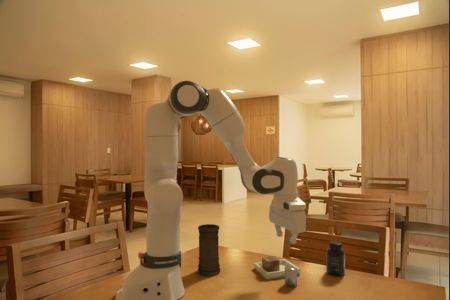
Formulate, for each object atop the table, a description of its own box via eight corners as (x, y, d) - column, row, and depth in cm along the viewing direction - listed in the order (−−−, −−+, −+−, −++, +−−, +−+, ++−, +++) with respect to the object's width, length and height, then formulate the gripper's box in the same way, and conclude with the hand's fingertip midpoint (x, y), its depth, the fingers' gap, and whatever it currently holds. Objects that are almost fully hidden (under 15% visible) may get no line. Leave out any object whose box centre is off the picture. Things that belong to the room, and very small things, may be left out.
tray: (267, 279, 124) (267, 273, 124) (253, 268, 135) (253, 262, 135) (300, 275, 129) (300, 268, 129) (284, 264, 140) (284, 258, 140)
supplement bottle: (348, 274, 129) (348, 243, 129) (335, 278, 126) (335, 246, 126) (335, 268, 135) (335, 239, 135) (322, 272, 132) (322, 241, 132)
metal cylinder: (288, 288, 117) (288, 271, 117) (282, 283, 121) (282, 267, 121) (299, 286, 118) (299, 269, 118) (293, 281, 122) (293, 265, 122)
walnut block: (267, 274, 127) (267, 261, 127) (262, 270, 132) (262, 257, 132) (279, 273, 129) (279, 260, 128) (273, 268, 133) (273, 256, 133)
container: (217, 276, 127) (217, 229, 127) (194, 275, 129) (194, 228, 129) (222, 268, 136) (222, 224, 136) (201, 266, 138) (200, 223, 138)
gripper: (264, 198, 131) (265, 233, 131) (293, 206, 112) (293, 248, 112) (279, 197, 133) (279, 231, 133) (309, 205, 114) (309, 246, 114)
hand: (286, 239), depth 122 cm, fingers open, 8 cm apart
